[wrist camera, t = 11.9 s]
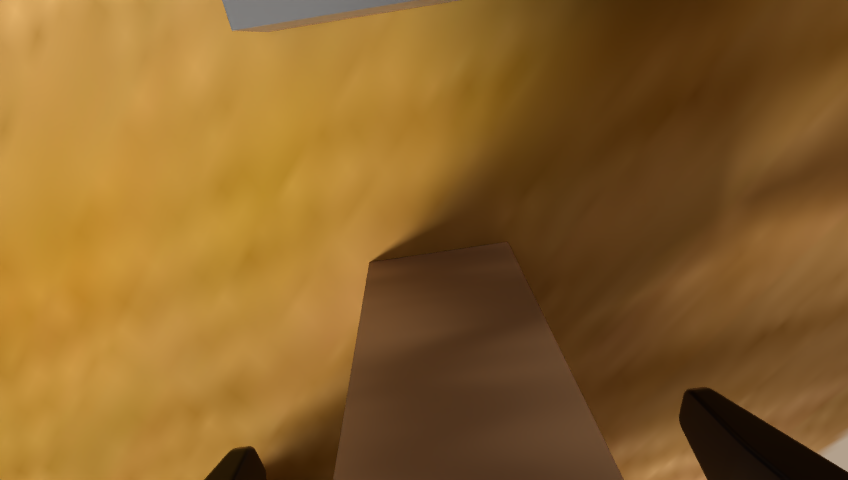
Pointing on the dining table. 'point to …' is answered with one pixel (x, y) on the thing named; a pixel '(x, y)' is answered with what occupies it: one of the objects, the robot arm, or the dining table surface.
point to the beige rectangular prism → (462, 379)
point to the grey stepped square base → (307, 11)
